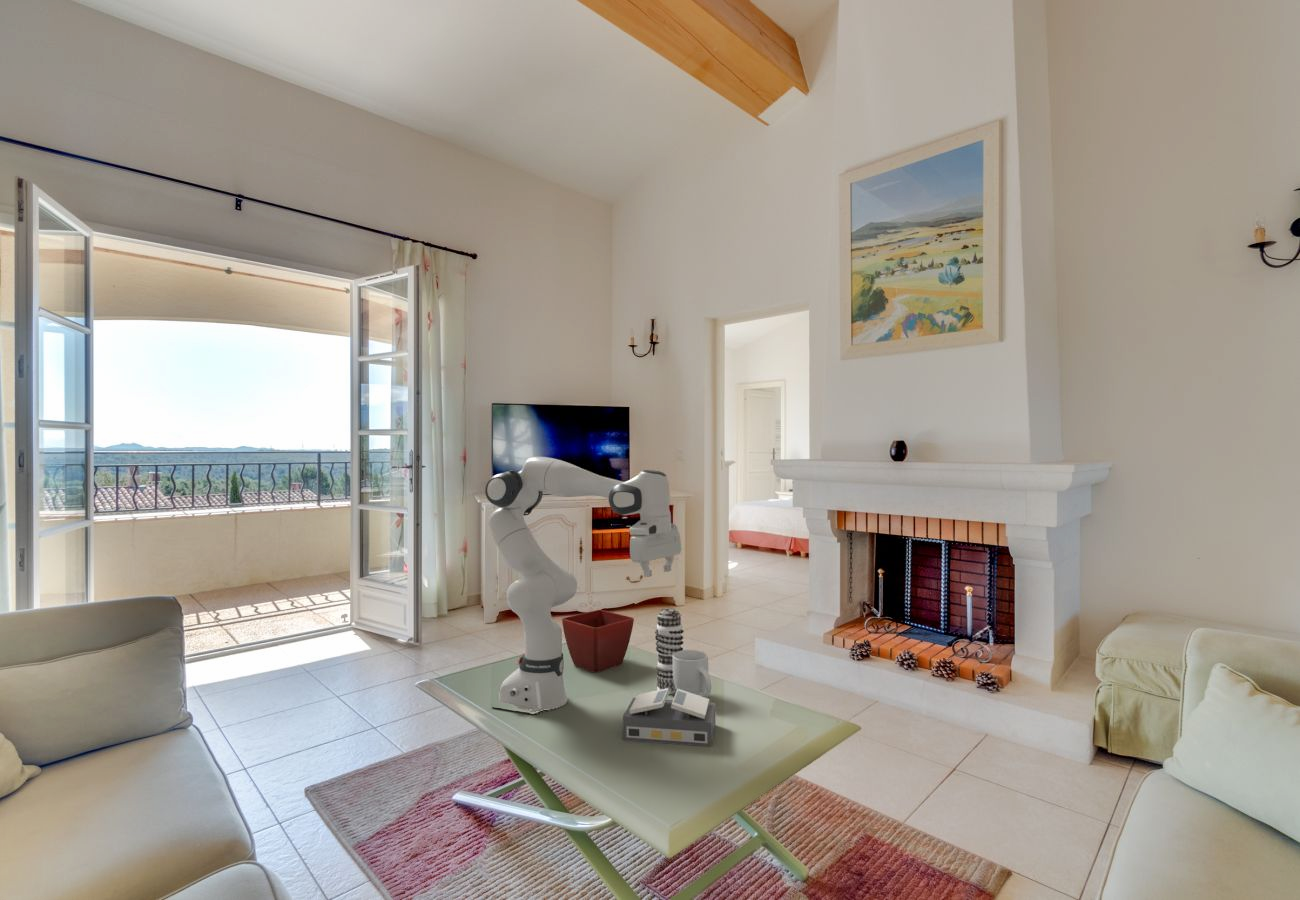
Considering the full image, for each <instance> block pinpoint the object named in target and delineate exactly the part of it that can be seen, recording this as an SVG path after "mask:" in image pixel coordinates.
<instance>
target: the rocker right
mask: <svg viewBox="0 0 1300 900" xmlns="http://www.w3.org/2000/svg"><path fill="white" fill-rule="evenodd" d="M672 700H673V702H672V705H671V708H673V709H676V710H679V711H682V712H685V713H688V714H691V715H694V716H697V717H700V718H703V719H705V715H706V711H707V707H708V702H710V698H707V697H702V696H699V695H696V694H693V693H690V692H687V691H684V690H681V689H677V692H676V694H674V697H673V699H672Z"/></svg>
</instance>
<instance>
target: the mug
mask: <svg viewBox="0 0 1300 900" xmlns="http://www.w3.org/2000/svg"><path fill="white" fill-rule="evenodd" d="M672 659H673V662H672V665H673V667H672V668H673V680H674V685H675V689H676V692H677V689H681V690H684V691H687V692H690V693H693V694H696V695H699V696H702V697H705V698H707V697H708V696H709V695H710V694H711V691H712V679H711V676H710V674H709V655H708V654H707V653H706V652H704V651H700V650H695V649H683V650H682V651H678V652H675V653H674V654H673V656H672Z"/></svg>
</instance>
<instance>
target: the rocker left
mask: <svg viewBox="0 0 1300 900" xmlns="http://www.w3.org/2000/svg"><path fill="white" fill-rule="evenodd" d="M669 695H670V694H669V688H666V689H662V690H657V689H656V690H653V691H648V692H643V693H639V694H637V696H636V697H635V698H636V699H635V701H634V703H633V704H632V706H631V708H630V710H629V711H630V714H633V713H638V712H643V711H647V710H652V709H657V708H662V707H663V706H664V703H665V701H666V700H668V699H667V698H668V696H669Z"/></svg>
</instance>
